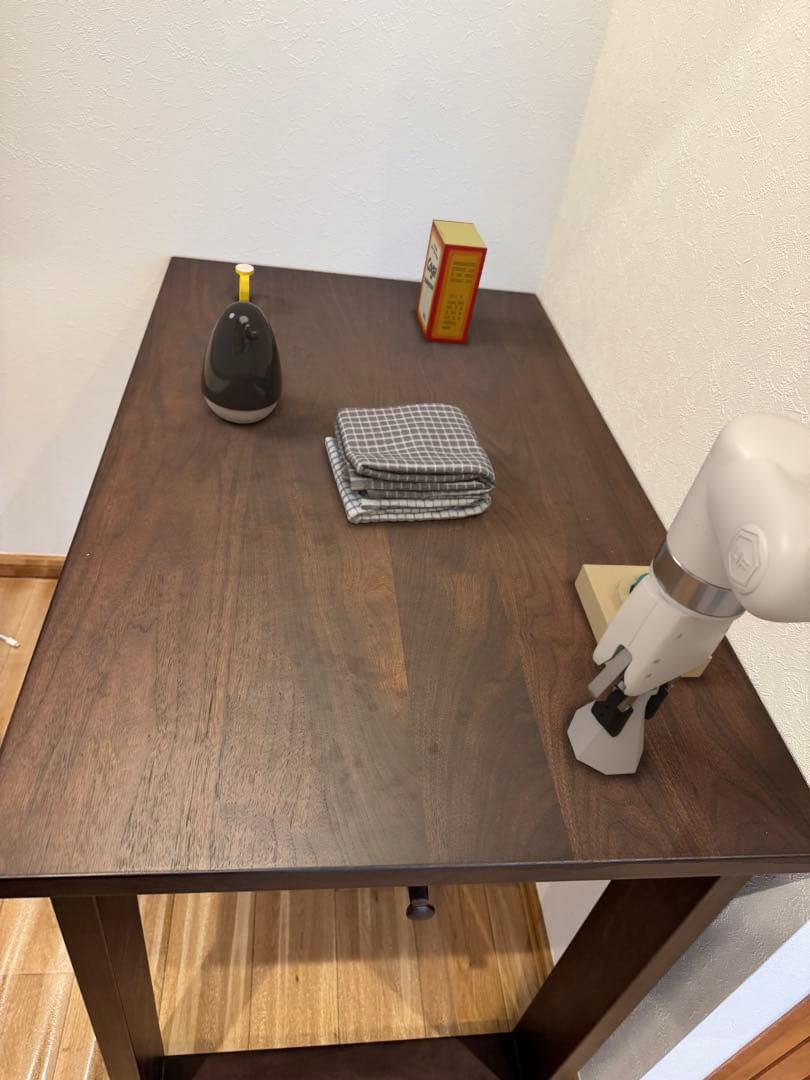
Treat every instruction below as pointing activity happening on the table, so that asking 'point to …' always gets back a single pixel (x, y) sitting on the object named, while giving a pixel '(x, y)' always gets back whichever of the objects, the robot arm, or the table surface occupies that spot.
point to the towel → (409, 463)
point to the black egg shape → (242, 365)
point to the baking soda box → (450, 281)
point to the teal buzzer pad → (611, 597)
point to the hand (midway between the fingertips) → (621, 714)
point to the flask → (610, 738)
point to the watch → (244, 280)
